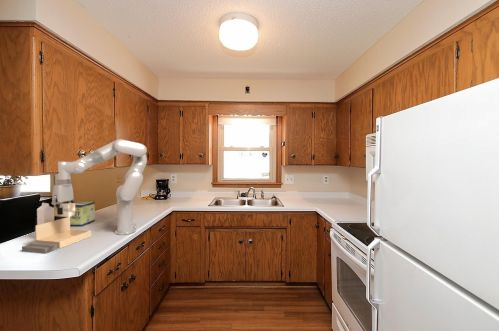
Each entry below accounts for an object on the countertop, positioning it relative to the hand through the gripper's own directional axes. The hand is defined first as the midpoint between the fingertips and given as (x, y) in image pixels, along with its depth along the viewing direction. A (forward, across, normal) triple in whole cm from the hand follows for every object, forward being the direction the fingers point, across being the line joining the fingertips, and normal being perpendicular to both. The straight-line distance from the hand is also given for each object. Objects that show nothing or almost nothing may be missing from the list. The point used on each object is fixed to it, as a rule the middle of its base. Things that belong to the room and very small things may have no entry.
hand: (64, 212), depth 151 cm
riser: (+17, +15, 0) cm, 23 cm away
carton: (+17, 0, 0) cm, 17 cm away
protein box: (+17, -36, -24) cm, 46 cm away
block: (+2, 0, 0) cm, 2 cm away
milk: (+17, -2, -16) cm, 23 cm away
